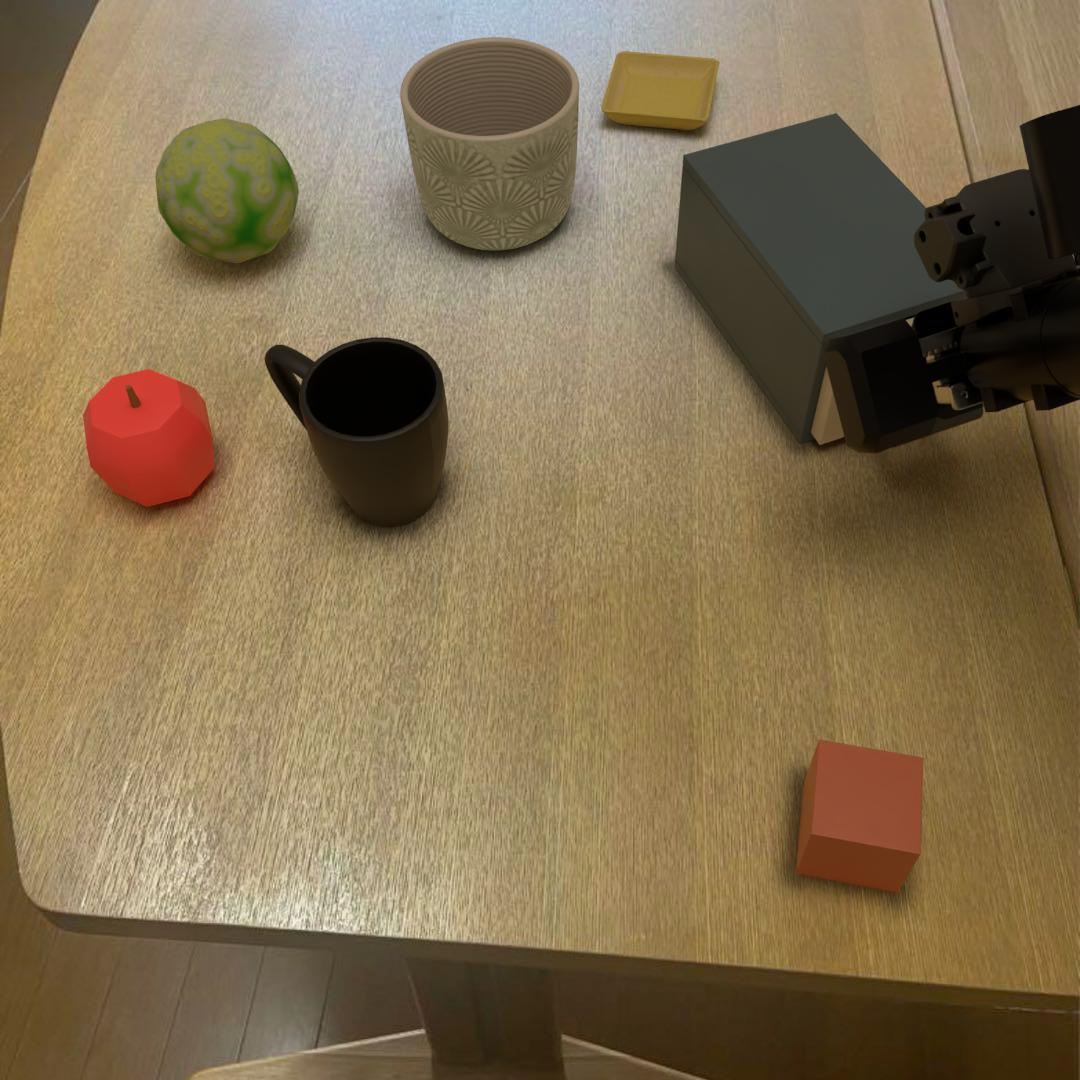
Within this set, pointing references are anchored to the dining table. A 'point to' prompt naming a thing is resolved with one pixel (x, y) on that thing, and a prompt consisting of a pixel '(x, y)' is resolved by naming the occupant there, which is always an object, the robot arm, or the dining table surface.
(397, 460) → the mug
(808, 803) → the block
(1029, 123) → the robot arm
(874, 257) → the cabinet
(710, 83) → the saucer
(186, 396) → the apple
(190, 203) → the decorative ball
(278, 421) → the dining table surface
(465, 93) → the planter
